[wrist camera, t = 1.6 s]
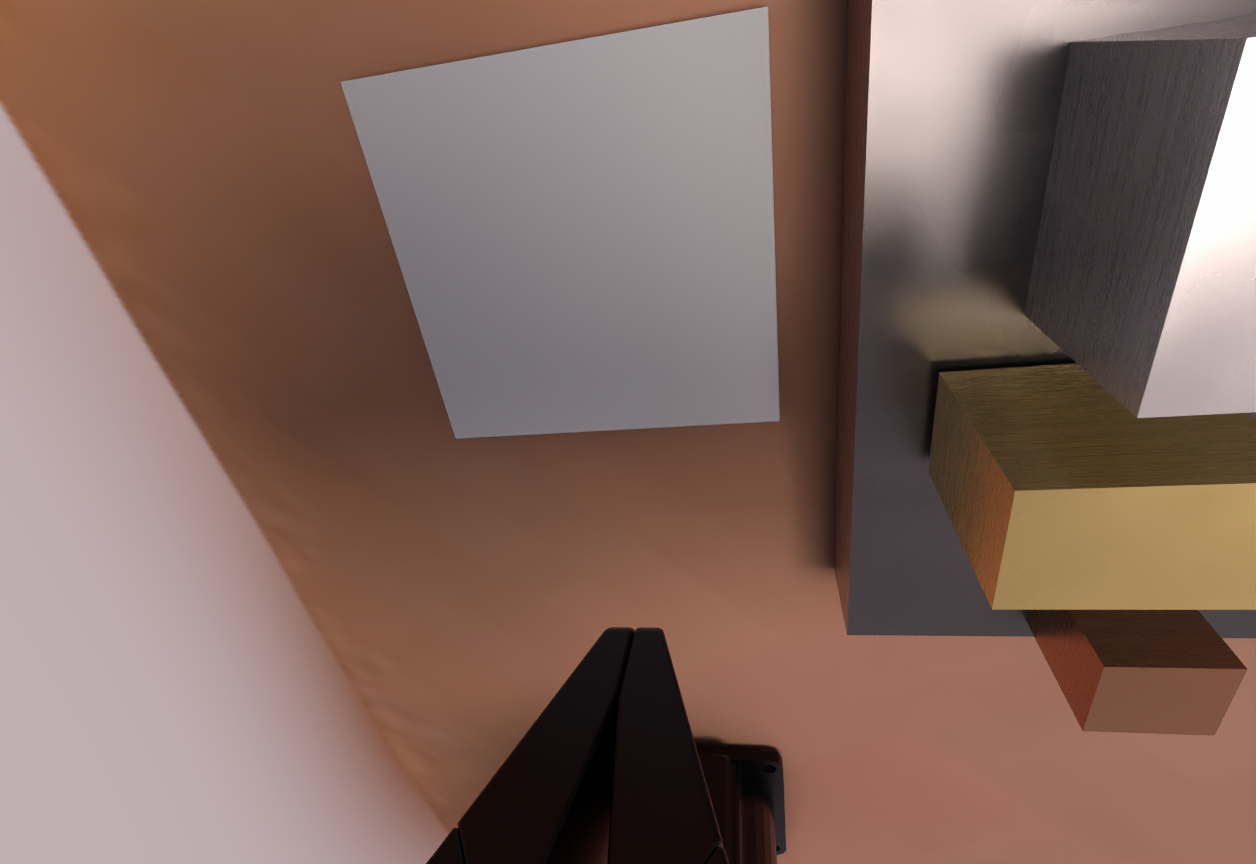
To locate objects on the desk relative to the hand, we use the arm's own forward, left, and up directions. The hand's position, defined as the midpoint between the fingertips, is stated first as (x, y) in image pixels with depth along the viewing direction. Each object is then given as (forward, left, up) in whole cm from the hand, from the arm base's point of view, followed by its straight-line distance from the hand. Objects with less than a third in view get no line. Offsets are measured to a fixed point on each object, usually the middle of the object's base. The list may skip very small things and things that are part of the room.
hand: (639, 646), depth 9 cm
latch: (0, -8, -6) cm, 9 cm away
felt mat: (+4, +2, -9) cm, 10 cm away
